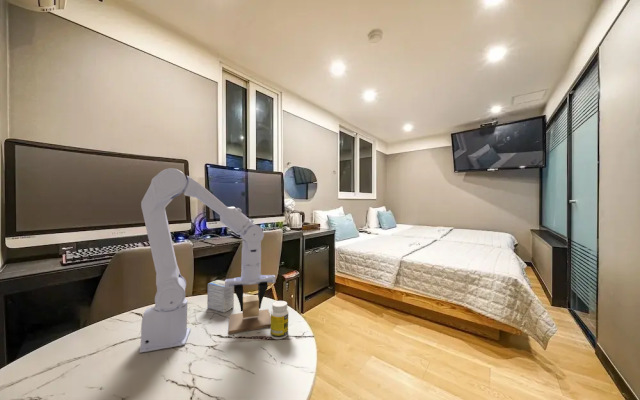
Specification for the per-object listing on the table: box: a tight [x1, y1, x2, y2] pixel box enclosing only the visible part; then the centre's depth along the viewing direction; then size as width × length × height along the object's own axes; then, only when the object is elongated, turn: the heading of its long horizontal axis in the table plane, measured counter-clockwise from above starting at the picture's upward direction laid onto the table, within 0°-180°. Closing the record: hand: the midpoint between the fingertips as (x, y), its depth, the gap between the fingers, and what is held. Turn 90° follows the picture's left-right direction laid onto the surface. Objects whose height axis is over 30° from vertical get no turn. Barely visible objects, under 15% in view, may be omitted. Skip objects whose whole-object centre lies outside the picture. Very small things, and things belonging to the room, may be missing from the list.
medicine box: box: [206, 279, 235, 313], centre depth 78 cm, size 8×4×9 cm, turn 65°
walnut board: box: [228, 308, 271, 335], centre depth 69 cm, size 12×10×1 cm
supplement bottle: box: [270, 300, 289, 340], centre depth 62 cm, size 5×5×8 cm
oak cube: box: [241, 294, 260, 318], centre depth 69 cm, size 4×4×4 cm
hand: (250, 308), depth 69 cm, fingers closed on oak cube, 4 cm apart
